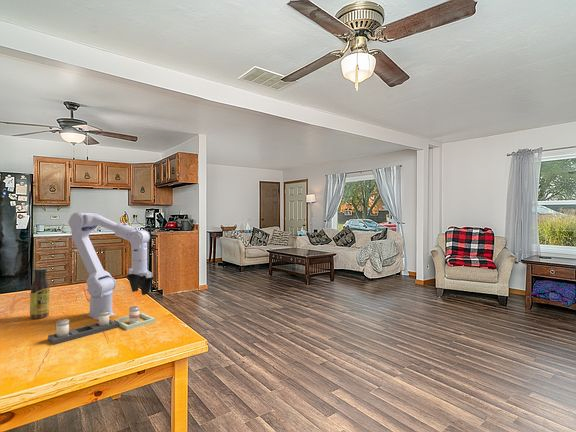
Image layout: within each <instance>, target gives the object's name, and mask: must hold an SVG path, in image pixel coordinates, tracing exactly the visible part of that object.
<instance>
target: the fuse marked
mask: <svg viewBox="0 0 576 432" xmlns="http://www.w3.org/2000/svg"><path fill="white" fill-rule="evenodd" d="M128 311H129V315H128V316H129V320H128V321H129V322H128V323H129V324H128V325H130V324H134V323H138V322H141V321H140V317H139V316H140V314H139V313H140V306H138V305H135V306H130V307H129V309H128Z"/></svg>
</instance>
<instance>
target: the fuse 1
mask: <svg viewBox="0 0 576 432" xmlns="http://www.w3.org/2000/svg"><path fill="white" fill-rule="evenodd" d="M55 324H56V325H55V327H56V333H57V337H56V338H61V337H65V336H69V330H70V319H60V320H57V321H56V322H55Z"/></svg>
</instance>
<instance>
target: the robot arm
mask: <svg viewBox="0 0 576 432" xmlns="http://www.w3.org/2000/svg"><path fill="white" fill-rule="evenodd" d="M68 225H69V228H70V229H71V230H70V231H71V239H72V240H73V243H74V245H75V247H76V250H77V251H78V254H79V256H80V259H81V261H82V262H83V265H84V267H85V270H86V271H87V274H88V275H89V276H88V278H87V279H86V285H87V292H88V294H89V295H90V298H89V313H87V316H89V317H91V318H92V319H94V320H99V319H98V312H100V311H104V310H109V317H111V316H117V314H116V312H113V293H114V291H115V289H116V287H117V281H116V279H115V278H114V277H113V276H112V275H111V274H110V272H108V271H106V270H105V269H104V268H103V265H102V262H101V261H100V259H99V257H98V254H97V252H96V250H95V248H94V246H93V243H92V241H91V240H90V237H89V236H90V234H91V233H92V232H93V231H94V229H96V227H97V226H99V227H100V228H101V227H102V228H104V229H107V230H109V231H112V232H114V235H115V236H116V237H119V238H121V239H122V240H123V239H124V240H126V241H128V242H129V244H130V246H131V247H130V248H131V268H130V267H129V268H128V274H127V275H125V276H126V278H127V280H128V282H129V285H130V289H131V292H132V293H134V292H138V291H139V287H140V292H141V295H142V296H145V295H148V294H149V291H150V287H151V284H152V282H153V281H154V276H153V272H151V271H149V270H148V243H149V242H150V239H151V235H150V233H149V231H147V230H146V229H141V230H139V227H135V226H131V225H129V223H128V222H120V223H117V222H115V221H113V220H111V219H109V218H107V217H105V216H103V215H101V214H100V213H99V214H98V213H96V212H93V211H91V212H74V213H72V214H71V215H70V217H69V219H68Z"/></svg>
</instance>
